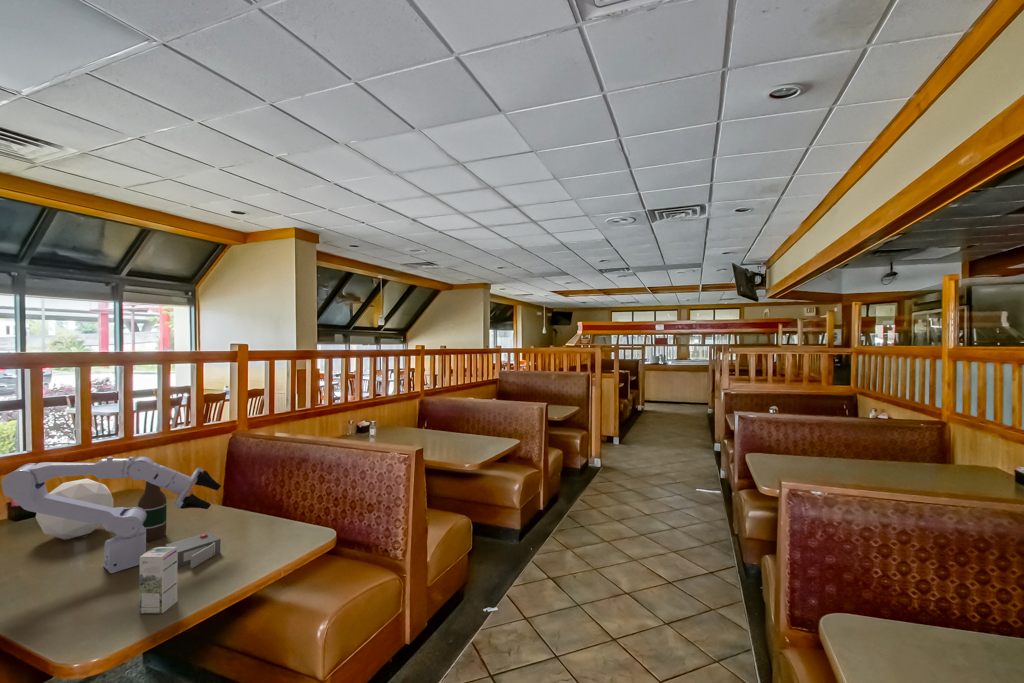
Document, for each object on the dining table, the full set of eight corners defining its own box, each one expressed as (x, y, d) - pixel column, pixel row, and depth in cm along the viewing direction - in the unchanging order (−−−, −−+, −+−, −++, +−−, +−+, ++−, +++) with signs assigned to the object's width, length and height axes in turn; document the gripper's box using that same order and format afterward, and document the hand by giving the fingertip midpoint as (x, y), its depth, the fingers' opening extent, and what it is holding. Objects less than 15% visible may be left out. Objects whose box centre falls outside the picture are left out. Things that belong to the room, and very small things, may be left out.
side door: (192, 568, 133) (192, 555, 133) (190, 568, 133) (190, 555, 133) (215, 554, 142) (215, 542, 142) (213, 554, 142) (213, 542, 142)
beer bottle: (172, 533, 159) (172, 465, 159) (152, 542, 151) (152, 471, 151) (151, 532, 159) (152, 464, 159) (131, 541, 152) (131, 470, 152)
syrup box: (178, 601, 117) (179, 545, 117) (161, 614, 111) (162, 556, 111) (156, 601, 117) (156, 545, 117) (137, 615, 111) (138, 556, 111)
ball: (62, 554, 157) (52, 501, 163) (130, 524, 165) (118, 475, 172) (24, 548, 141) (15, 490, 147) (102, 515, 149) (91, 462, 156)
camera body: (170, 569, 133) (171, 552, 133) (160, 560, 139) (160, 544, 139) (220, 553, 144) (220, 537, 144) (208, 545, 149) (208, 530, 149)
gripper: (165, 491, 135) (210, 508, 141) (188, 456, 147) (229, 473, 153) (154, 504, 137) (199, 520, 143) (178, 468, 149) (219, 485, 155)
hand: (214, 497), depth 148 cm, fingers open, 7 cm apart
